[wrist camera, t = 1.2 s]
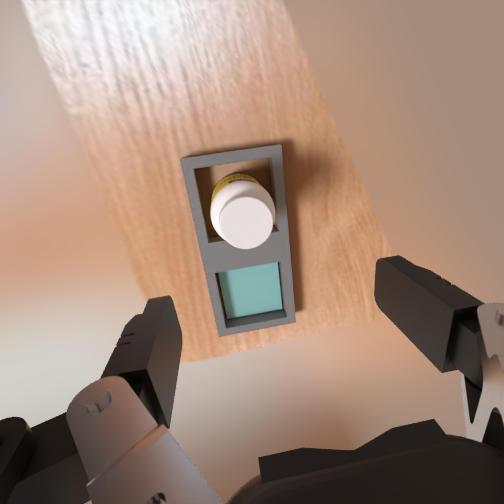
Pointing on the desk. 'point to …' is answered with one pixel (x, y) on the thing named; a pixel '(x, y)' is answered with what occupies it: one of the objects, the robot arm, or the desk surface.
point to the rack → (245, 253)
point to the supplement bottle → (242, 211)
